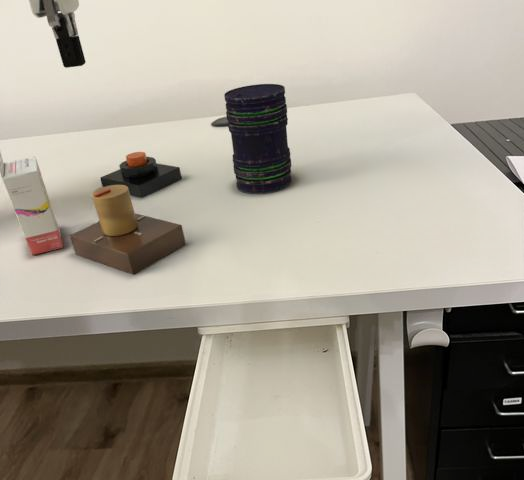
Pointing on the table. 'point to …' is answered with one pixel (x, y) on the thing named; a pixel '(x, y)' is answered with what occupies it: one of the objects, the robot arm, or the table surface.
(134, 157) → the button
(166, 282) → the table surface
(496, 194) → the table surface
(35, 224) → the ink cartridge box
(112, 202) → the dial
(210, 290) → the table surface
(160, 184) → the button block
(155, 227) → the dial panel
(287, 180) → the dark blue barrel
